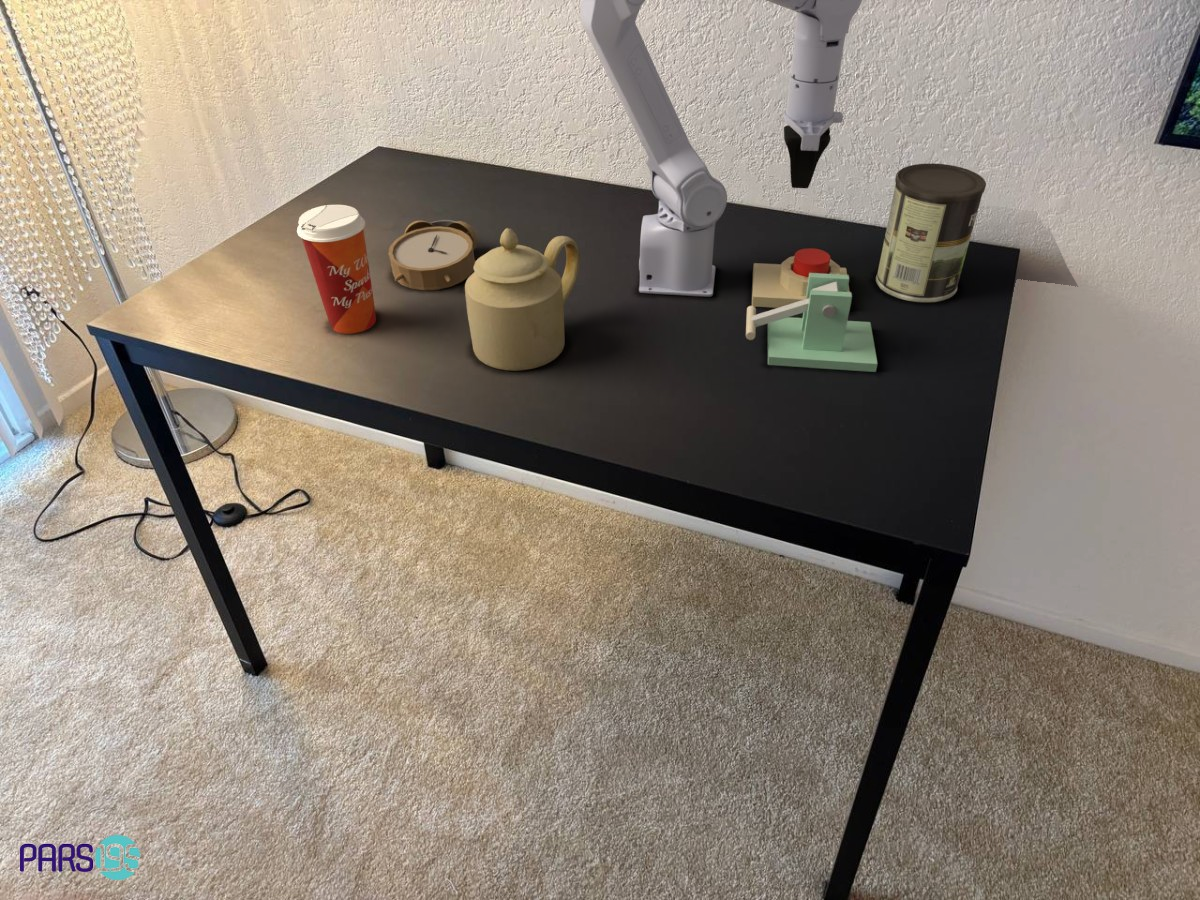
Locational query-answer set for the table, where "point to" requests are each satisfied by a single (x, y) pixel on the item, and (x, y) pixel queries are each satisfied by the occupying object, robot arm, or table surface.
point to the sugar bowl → (520, 303)
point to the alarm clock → (433, 254)
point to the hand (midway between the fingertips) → (799, 186)
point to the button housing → (782, 283)
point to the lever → (780, 312)
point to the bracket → (823, 332)
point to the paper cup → (340, 265)
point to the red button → (811, 262)
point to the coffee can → (929, 231)
